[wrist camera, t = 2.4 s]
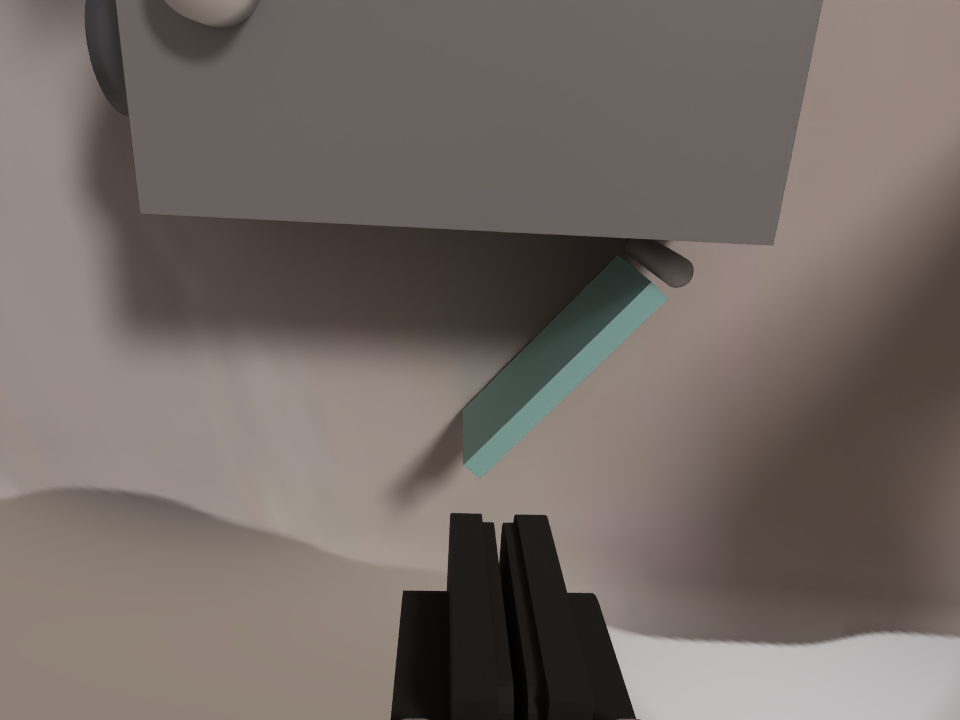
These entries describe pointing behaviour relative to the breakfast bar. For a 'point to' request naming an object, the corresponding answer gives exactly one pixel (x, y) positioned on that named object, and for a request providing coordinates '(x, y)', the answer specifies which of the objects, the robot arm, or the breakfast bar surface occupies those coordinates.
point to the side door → (567, 351)
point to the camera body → (463, 111)
